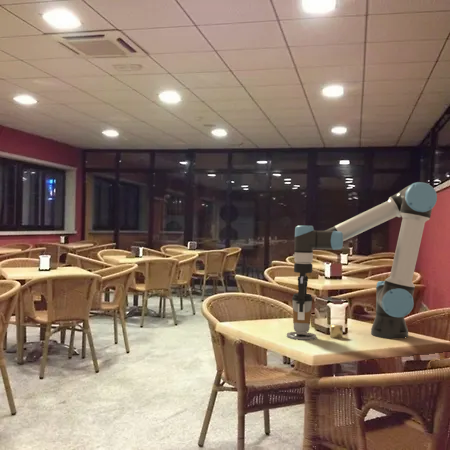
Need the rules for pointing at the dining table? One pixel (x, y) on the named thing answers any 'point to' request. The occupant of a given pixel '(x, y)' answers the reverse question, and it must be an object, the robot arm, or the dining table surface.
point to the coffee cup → (305, 324)
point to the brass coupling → (336, 331)
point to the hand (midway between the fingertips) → (301, 317)
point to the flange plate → (301, 335)
